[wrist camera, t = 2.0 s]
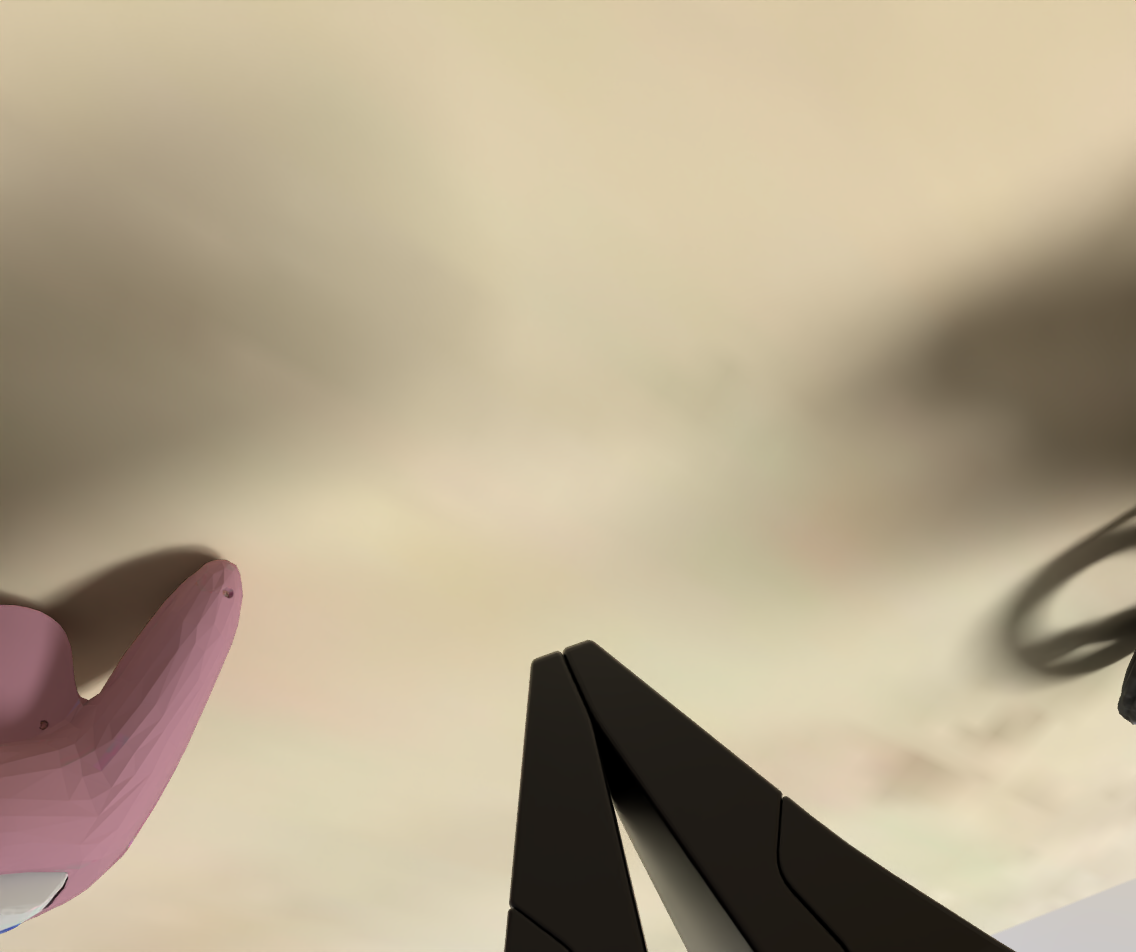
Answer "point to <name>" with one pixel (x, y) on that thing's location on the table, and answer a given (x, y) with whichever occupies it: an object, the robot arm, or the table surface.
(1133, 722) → the milk frother
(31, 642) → the video game controller
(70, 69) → the table surface
